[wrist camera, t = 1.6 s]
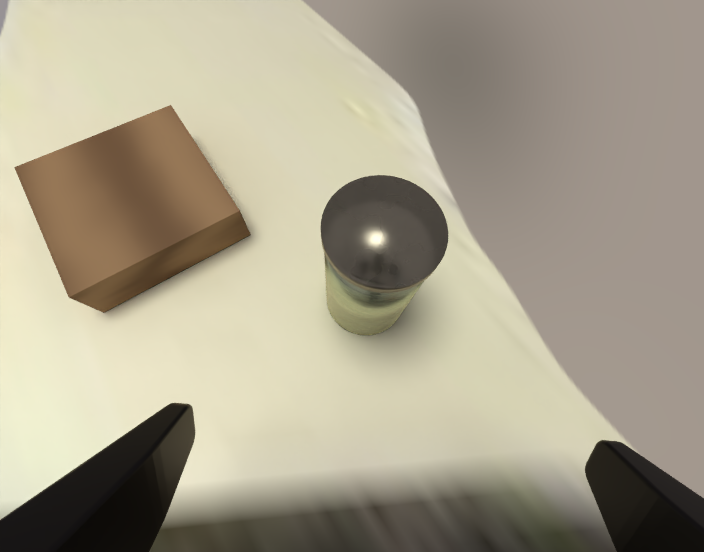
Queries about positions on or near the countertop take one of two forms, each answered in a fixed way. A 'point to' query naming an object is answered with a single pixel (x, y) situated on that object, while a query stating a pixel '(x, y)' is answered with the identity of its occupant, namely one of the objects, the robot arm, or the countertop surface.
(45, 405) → the countertop surface
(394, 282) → the spice tin
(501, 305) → the countertop surface
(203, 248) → the walnut block
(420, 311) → the countertop surface
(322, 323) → the countertop surface
